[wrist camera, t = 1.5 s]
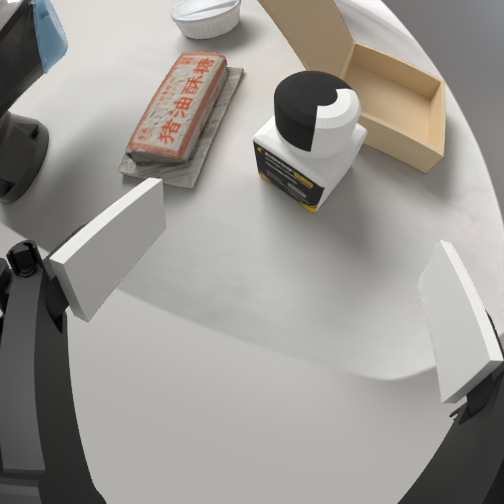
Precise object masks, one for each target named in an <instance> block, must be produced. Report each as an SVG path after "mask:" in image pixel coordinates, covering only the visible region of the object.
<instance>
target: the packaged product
mask: <svg viewBox="0 0 504 504" xmlns="http://www.w3.org/2000/svg"><path fill="white" fill-rule="evenodd" d="M226 65H227V61H226V58H225V56H223V55H220V54H218V53H216V52H211V53H210V52H183V53H182V54H181V55H180V57H179V58H178V59H177V61H176V62H175V64H174V65H173V66H172V68H171V70H170V71H169V73H168V74H167V75H166V77H165V79H164V80H163V82H162V84H161V85H160V87H159V88H158V90H157V92H156V93H155V95H154V96H153V98H152V100H151V102H150V104H149V105H148V107H147V109H146V111H145V113H144V115H143V116H142V118H141V120H140V122H139V124H138V126H137V128H136V130H135V132H134V133H133V135H132V137H131V139H130V141H129V143H128V146H127V148H126V154H125V155H124V157H123V160H122V162H121V165H120V166H119V168H118V172H120V173H122V174H125V175H128V176H132V177H137V178H142V179H148V178H156V179H163V183H164V184H168V185H172V186H177V187H185V188H193V187H194V185H195V182H196V180H197V178H198V175H199V173H200V170H201V168H202V165H203V162H204V160H205V157H206V154H207V151H208V148H209V146H210V144H211V142H212V139H213V137H214V135H215V133H216V131H217V128H218V126H219V124H220V122H221V120H222V118H223V116H224V114H225V112H226V109H227V107H228V104H229V101H230V98H231V96H232V95H233V93H234V91H235V89H236V87H237V84H238V82H239V80H240V77H241V75H242V73H243V71H244V69H243V68H232V67H226Z"/></svg>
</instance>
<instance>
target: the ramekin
mask: <svg viewBox="0 0 504 504" xmlns="http://www.w3.org/2000/svg"><path fill="white" fill-rule="evenodd" d="M240 4H241V0H181V1H180V2H179V3H177V4H176V5H175V6H174V7H173V9H172V10H171V13H170V14H171V18H172V20H173V21H174V22H176V24H177V26H178V27H179V29H180V30H181V32H182V33H183V34H184V35H185V36H187V37H190V38H193V39H209V38H214V37H217V36H220V35H223V34H225V33H227V32H229V31H231V30H232V29H233V28H234V27H235V26H236V25H237V24H238V22H239V15H240Z"/></svg>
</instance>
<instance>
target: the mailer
mask: <svg viewBox="0 0 504 504" xmlns="http://www.w3.org/2000/svg"><path fill="white" fill-rule="evenodd" d="M258 2H259V3H260V4H261V5H262V7H263V8H264V9H265V10H266V12H267V13H268V14H269V16H270V17H271V18H272V20H273V21H274V22H275V24H276V25H277V27H278V28H279V29H280V31H281V32H282V34H283V35H284V37H285V38H286V39H287V41H288V42H289V44H290V45H291V47H292V48H293V50H294V51H295V53H296V55H297V56H298V58H299V59H300V61H301V62H302V64H303V66H304V67H305V69H306V71H321V72H325V73H329V74H332V75H334V76H336V77H338V78H340V79H342V80H343V81H344V82H346V83H347V84H348V85H349V86H350V87H351V88H352V89H353V90H354V92H355V93H356V95H357V96H358V99H359V101H360V105H361V112H360V116H359V119H358V121H357V123H358V124H359V125H361V126H362V127H364V128H365V129H366V130H367V136H366V138H365V140H364V142H363V144H366V145H368V146H370V147H372V148H375V149H377V150H379V151H381V152H383V153H386V154H388V155H390V156H392V157H394V158H396V159H398V160H400V161H402V162H404V163H406V164H408V165H410V166H412V167H414V168H416V169H418V170H420V171H421V172H423V173H425V174H426V173H427V172H428V171H429V170H430V169H431V168H432V167H433V166H434V165H435V164H436V163H437V162H438V161H439V160H440V159H441V158H443V157H444V144H445V119H446V100H445V82H444V81H442V80H441V79H439V78H437V77H435V76H433V75H432V74H430V73H428V72H426V71H424V70H422V69H420V68H418V67H416V66H414V65H412V64H410V63H408V62H406V61H404V60H402V59H399V58H397V57H395V56H393V55H390V54H388V53H385V52H383V51H381V50H378V49H375V48H373V47H370V46H368V45H365V44H362V43H359V42H356V41H353V39H352V36H351V34H350V32H349V30H348V28H347V26H346V24H345V22H344V20H343V18H342V16H341V14H340V12H339V10H338V9H337V7H336V5H335V3H334V1H333V0H258Z"/></svg>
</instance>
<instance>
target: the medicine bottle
mask: <svg viewBox="0 0 504 504" xmlns="http://www.w3.org/2000/svg"><path fill="white" fill-rule="evenodd" d="M274 111H275V115H274V116H273V117H272V118H271V119H270V120H269V121H268V122H267V123H266V124H265V125H264V126H263V127H262V128H261V129H260V130H259V131H258V132H257V133H256V134H255V135H254V136H253V144H254V149H255V155H256V161H257V167H258V173H259V174H260V175H261V176H262V177H264V178H265V179H266V180H268V181H269V182H271V183H272V184H274V185H275V186H276V187H278V188H279V189H281V190H282V191H283V192H285V193H286V194H287V195H289V196H290V197H292V198H293V199H294V200H296V201H297V202H298V203H300V204H301V205H302V206H304V207H305V208H306V209H308V210H309V211H310V212H312V213H315V212H316V211H317V210H318V209H319V207H320V206H321V205H322V204H323V202H324V201H325V200H326V198H327V197H328V196H329V195H330V193H331V192H332V191H333V189H334V188H335V187H336V186H337V184H338V183H339V182H340V180H341V179H342V178H343V176H344V175H345V174H346V172H347V171H348V170H349V169H350V167H351V165H352V163H353V161H354V160H355V158H356V156H357V154H358V152H359V150H360V148H361V146H362V144H363V142H364V140H365V138H366V136H367V130H366V129H365V128H364V127H362V126H361V125H359V124H358V123H357V121H358V119H359V116H360V112H361V105H360V101H359V99H358V96H357V95H356V93H355V92H354V90H353V89H352V88H351V87H350V86H349V85H348V84H347V83H346V82H344V81H343V80H342V79H340V78H338V77H336V76H334V75H332V74H329V73H325V72H321V71H302V72H298V73H295V74H293V75H291V76H289V77H287V78H285V79H284V80H283V81H282V82H280V84H279V85H278V86H277V88H276V90H275V93H274Z"/></svg>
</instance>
